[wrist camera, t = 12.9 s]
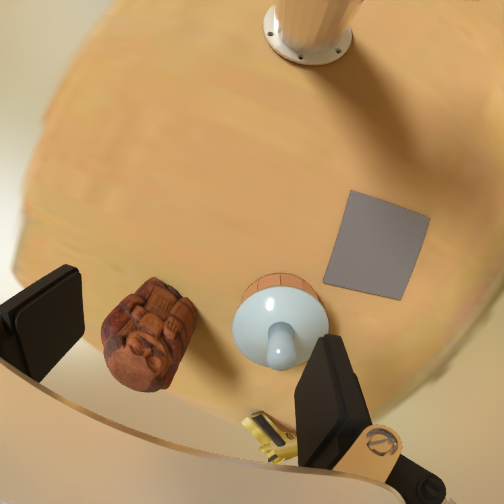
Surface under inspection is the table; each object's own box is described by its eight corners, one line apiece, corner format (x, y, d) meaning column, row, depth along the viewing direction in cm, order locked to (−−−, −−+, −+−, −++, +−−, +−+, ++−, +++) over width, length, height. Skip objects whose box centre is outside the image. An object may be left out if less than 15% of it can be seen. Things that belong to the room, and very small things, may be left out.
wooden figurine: (210, 314, 44) (179, 394, 27) (189, 337, 46) (154, 415, 29) (151, 268, 42) (90, 327, 25) (133, 294, 44) (76, 357, 27)
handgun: (244, 412, 48) (271, 463, 39) (308, 403, 59) (334, 441, 50) (239, 418, 49) (264, 468, 39) (302, 409, 59) (327, 447, 50)
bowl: (250, 264, 41) (247, 279, 36) (328, 283, 41) (336, 299, 36) (233, 331, 45) (229, 352, 39) (304, 346, 45) (307, 367, 39)
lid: (244, 274, 36) (238, 300, 29) (340, 297, 36) (354, 324, 29) (225, 353, 40) (217, 385, 33) (309, 370, 40) (314, 402, 33)
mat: (350, 190, 37) (351, 190, 36) (429, 217, 37) (430, 218, 36) (322, 281, 41) (323, 282, 41) (399, 298, 41) (400, 300, 41)
